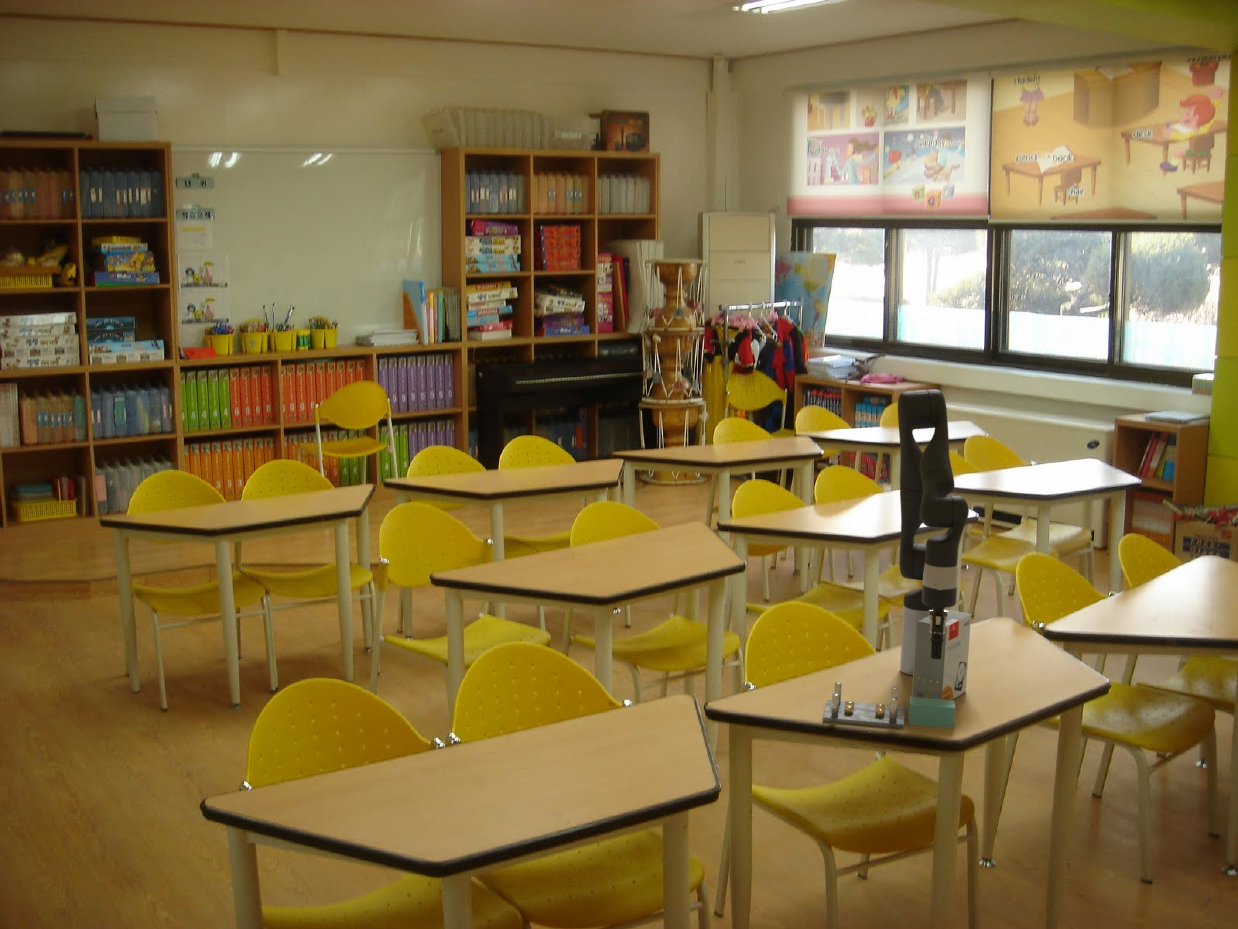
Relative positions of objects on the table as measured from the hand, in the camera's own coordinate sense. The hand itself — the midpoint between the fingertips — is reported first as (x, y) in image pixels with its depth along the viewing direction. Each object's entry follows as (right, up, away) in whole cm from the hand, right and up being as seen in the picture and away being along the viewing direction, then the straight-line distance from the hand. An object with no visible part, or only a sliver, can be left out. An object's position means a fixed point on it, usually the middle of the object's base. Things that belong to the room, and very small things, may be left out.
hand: (936, 652), depth 295 cm
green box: (0, -16, +3) cm, 17 cm away
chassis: (-15, -16, +6) cm, 23 cm away
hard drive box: (+6, -14, +20) cm, 25 cm away
